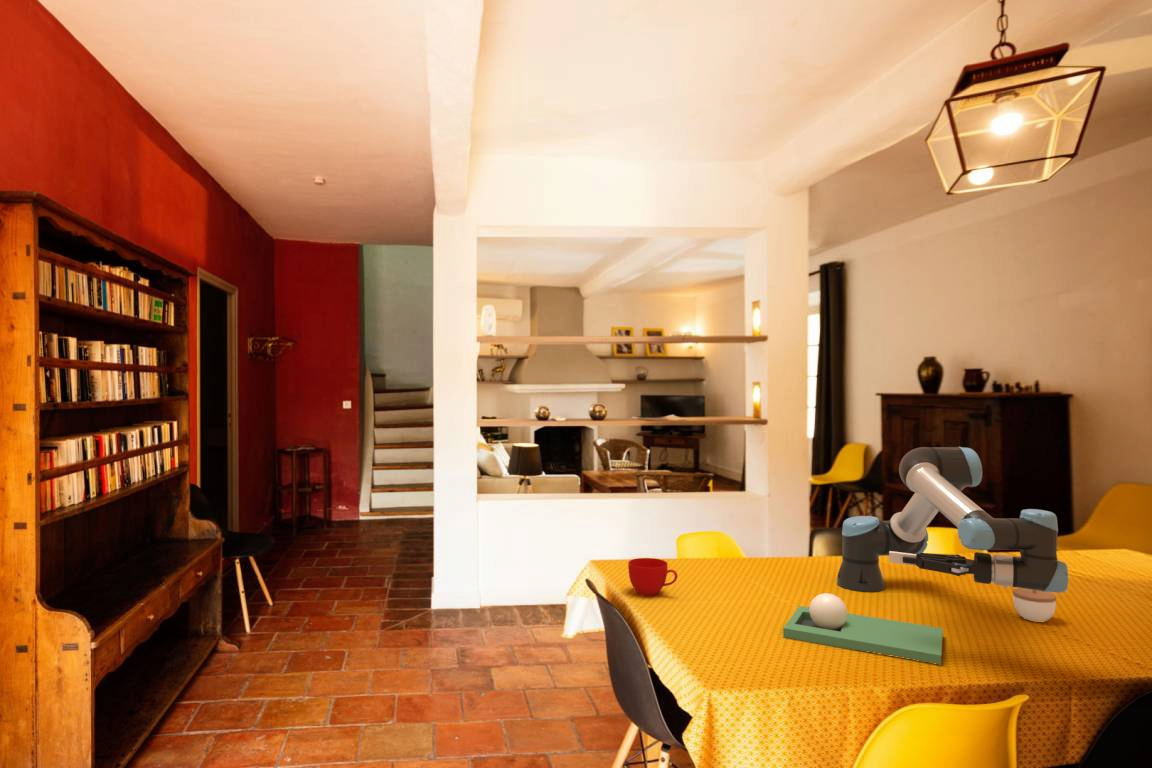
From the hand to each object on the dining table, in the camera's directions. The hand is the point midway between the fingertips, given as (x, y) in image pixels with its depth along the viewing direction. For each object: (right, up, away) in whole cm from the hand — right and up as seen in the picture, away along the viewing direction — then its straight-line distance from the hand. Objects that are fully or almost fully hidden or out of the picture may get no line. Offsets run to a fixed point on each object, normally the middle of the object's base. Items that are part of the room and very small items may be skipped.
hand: (889, 556), depth 183 cm
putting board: (-6, -23, +3) cm, 24 cm away
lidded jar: (+51, -23, +19) cm, 60 cm away
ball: (-14, -18, +8) cm, 24 cm away
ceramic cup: (-59, -23, +41) cm, 76 cm away
